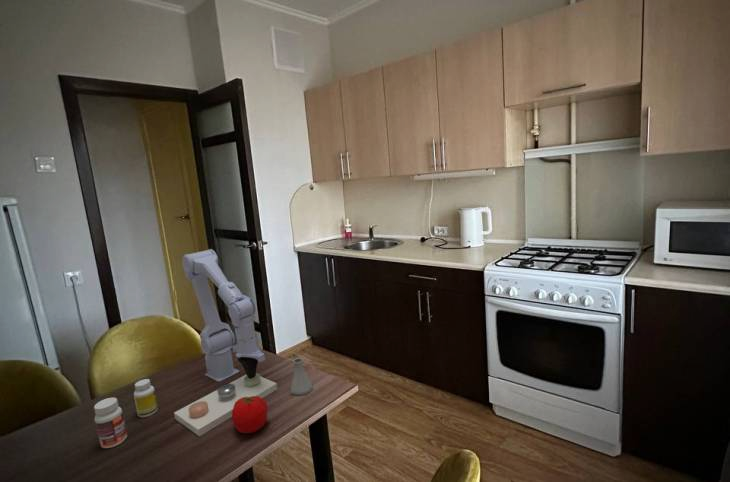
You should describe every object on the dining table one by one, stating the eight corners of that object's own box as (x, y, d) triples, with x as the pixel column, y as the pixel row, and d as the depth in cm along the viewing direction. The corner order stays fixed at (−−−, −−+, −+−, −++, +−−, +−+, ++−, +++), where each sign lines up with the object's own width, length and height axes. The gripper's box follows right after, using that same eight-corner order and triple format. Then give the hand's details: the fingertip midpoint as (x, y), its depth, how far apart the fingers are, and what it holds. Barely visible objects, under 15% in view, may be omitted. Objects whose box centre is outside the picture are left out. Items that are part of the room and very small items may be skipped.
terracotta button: (186, 413, 108) (185, 408, 107) (202, 404, 111) (202, 399, 111) (195, 419, 104) (193, 414, 104) (211, 410, 108) (210, 404, 108)
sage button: (241, 383, 121) (240, 378, 121) (254, 376, 125) (254, 371, 125) (250, 388, 118) (249, 383, 118) (263, 380, 122) (263, 375, 122)
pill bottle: (122, 446, 100) (113, 407, 98) (96, 451, 99) (87, 412, 97) (131, 431, 106) (123, 394, 104) (106, 436, 105) (98, 399, 103)
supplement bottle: (161, 411, 114) (155, 381, 113) (141, 420, 111) (134, 389, 109) (154, 404, 118) (148, 375, 116) (135, 413, 114) (129, 383, 113)
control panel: (175, 418, 110) (173, 412, 109) (251, 377, 129) (250, 372, 129) (199, 436, 101) (198, 429, 101) (277, 389, 121) (276, 383, 120)
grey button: (215, 395, 114) (214, 389, 114) (229, 387, 118) (229, 382, 118) (224, 400, 111) (223, 394, 111) (239, 391, 115) (238, 386, 115)
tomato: (251, 443, 96) (246, 413, 95) (224, 432, 102) (219, 404, 100) (277, 422, 104) (273, 394, 103) (251, 412, 109) (247, 386, 108)
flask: (315, 382, 122) (312, 354, 121) (310, 395, 115) (306, 365, 114) (293, 383, 123) (290, 354, 122) (287, 396, 116) (283, 366, 114)
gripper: (221, 337, 120) (228, 376, 123) (248, 346, 111) (254, 389, 114) (241, 329, 126) (246, 366, 128) (268, 337, 117) (273, 378, 119)
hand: (251, 376), depth 121 cm, fingers closed
